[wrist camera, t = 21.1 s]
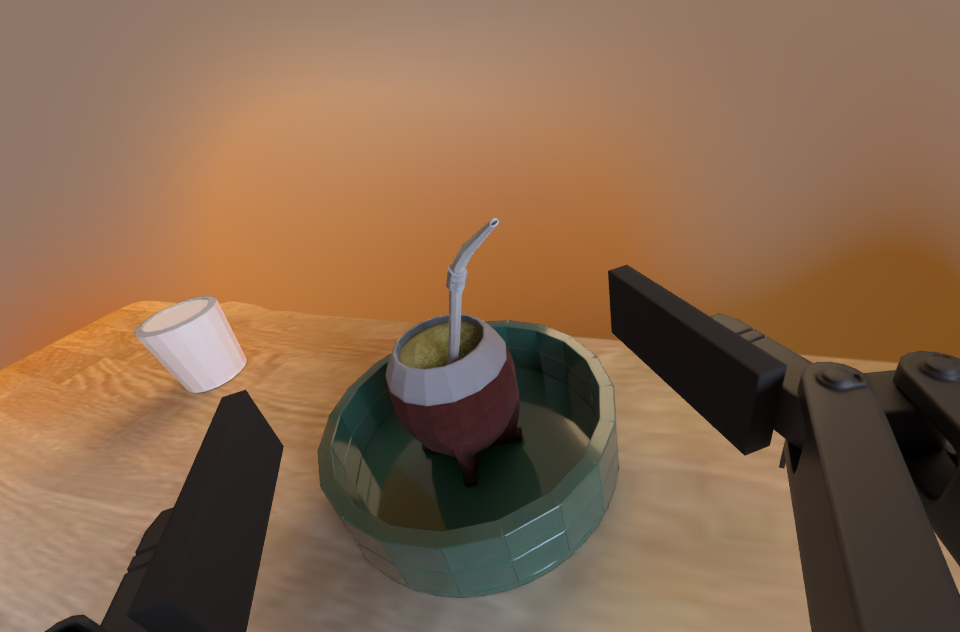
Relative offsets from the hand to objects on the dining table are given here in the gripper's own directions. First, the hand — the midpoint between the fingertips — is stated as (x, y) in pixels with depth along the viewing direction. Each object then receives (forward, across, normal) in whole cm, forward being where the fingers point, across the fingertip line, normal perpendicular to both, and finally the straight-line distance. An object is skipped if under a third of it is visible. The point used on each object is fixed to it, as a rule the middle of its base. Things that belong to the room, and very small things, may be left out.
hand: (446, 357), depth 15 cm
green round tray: (+6, 0, -12) cm, 13 cm away
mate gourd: (+6, 0, -11) cm, 13 cm away
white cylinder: (+27, -22, -12) cm, 36 cm away
